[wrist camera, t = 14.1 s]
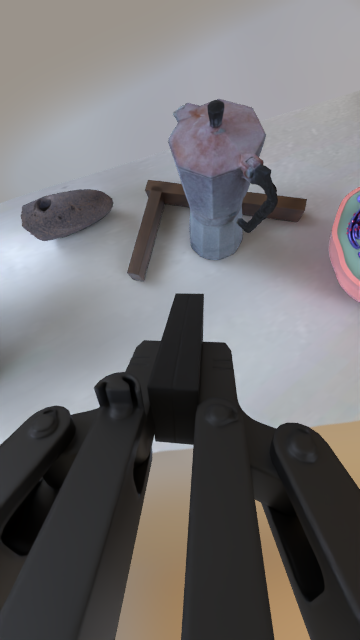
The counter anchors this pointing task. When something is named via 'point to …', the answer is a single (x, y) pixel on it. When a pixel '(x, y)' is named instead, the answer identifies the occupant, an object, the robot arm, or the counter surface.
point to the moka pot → (220, 172)
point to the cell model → (347, 244)
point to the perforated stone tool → (64, 213)
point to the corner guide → (175, 195)
